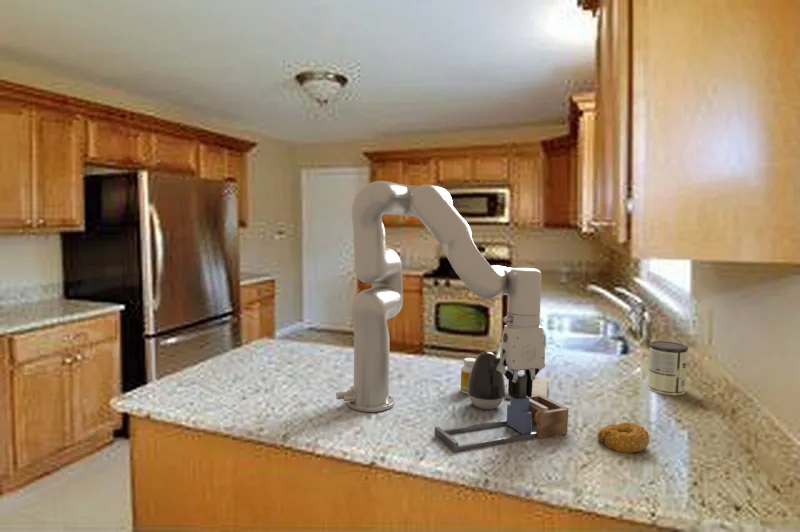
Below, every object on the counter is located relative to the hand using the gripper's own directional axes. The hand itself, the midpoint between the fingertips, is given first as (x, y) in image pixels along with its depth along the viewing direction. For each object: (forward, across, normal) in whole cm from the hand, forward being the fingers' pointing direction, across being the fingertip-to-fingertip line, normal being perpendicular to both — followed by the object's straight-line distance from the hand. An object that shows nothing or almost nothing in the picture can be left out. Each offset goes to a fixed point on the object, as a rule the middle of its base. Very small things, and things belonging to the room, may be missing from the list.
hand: (520, 395), depth 122 cm
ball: (+7, +7, 0) cm, 10 cm away
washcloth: (+10, +20, +23) cm, 32 cm away
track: (+9, -9, 0) cm, 13 cm away
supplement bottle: (+9, +3, +29) cm, 31 cm away
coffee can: (+9, +62, +11) cm, 63 cm away
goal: (+9, +6, 0) cm, 10 cm away
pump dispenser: (+9, +2, +17) cm, 19 cm away
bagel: (+9, +18, -14) cm, 25 cm away
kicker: (+9, 0, 0) cm, 9 cm away
